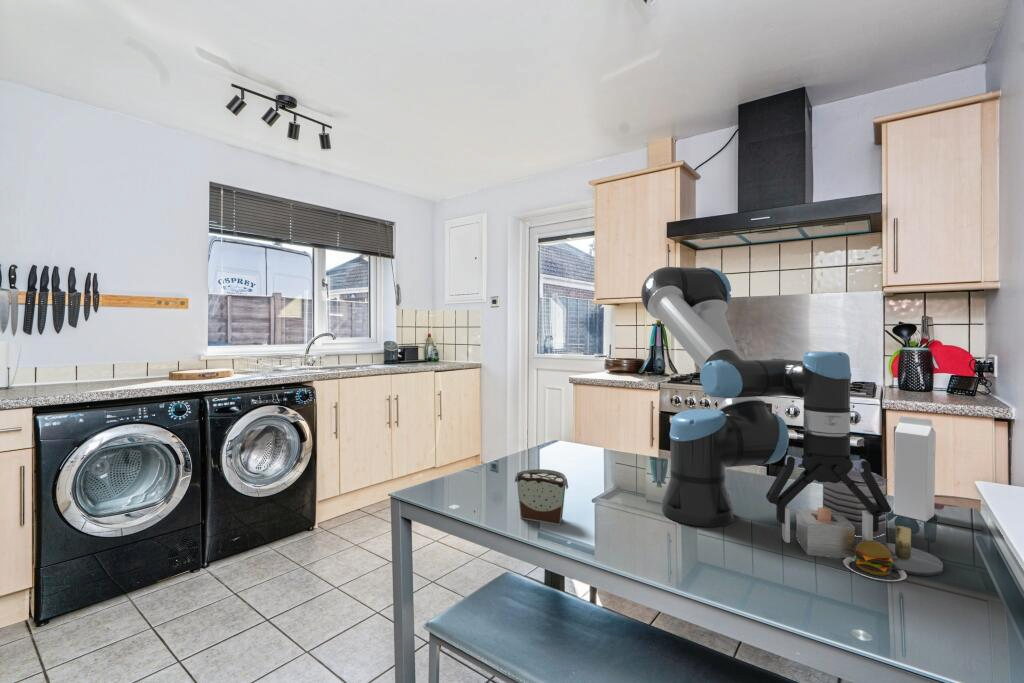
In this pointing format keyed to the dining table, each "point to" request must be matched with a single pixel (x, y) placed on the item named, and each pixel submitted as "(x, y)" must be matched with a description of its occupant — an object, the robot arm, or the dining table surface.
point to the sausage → (824, 514)
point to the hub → (912, 556)
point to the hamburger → (873, 560)
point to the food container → (541, 495)
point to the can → (853, 500)
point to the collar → (825, 534)
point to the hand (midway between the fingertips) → (825, 544)
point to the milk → (914, 468)
